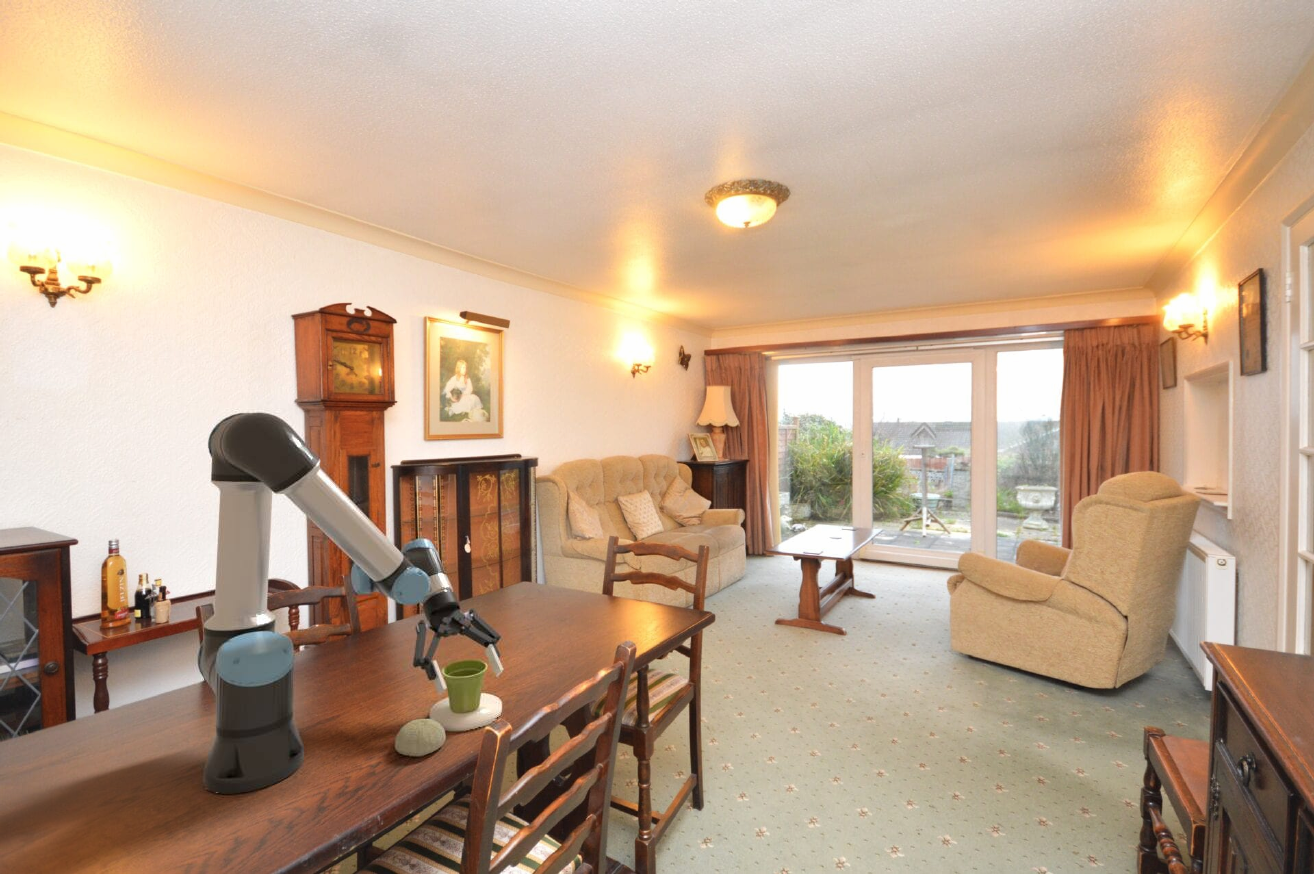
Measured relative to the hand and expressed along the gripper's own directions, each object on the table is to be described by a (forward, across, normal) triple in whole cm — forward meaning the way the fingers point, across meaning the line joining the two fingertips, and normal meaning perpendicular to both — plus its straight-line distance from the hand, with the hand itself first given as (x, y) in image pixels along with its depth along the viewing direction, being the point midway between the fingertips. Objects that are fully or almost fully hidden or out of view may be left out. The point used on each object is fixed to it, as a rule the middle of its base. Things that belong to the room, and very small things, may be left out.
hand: (472, 682), depth 131 cm
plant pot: (+3, 0, -6) cm, 7 cm away
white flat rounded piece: (+4, 0, -7) cm, 8 cm away
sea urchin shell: (+8, +13, -3) cm, 16 cm away
